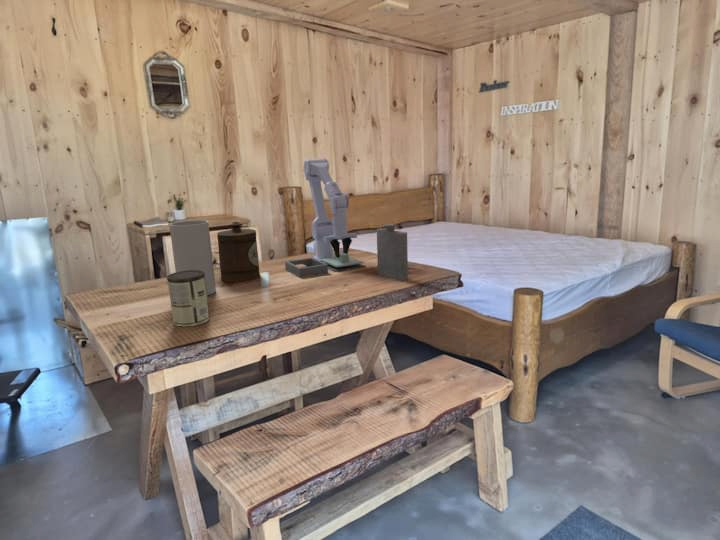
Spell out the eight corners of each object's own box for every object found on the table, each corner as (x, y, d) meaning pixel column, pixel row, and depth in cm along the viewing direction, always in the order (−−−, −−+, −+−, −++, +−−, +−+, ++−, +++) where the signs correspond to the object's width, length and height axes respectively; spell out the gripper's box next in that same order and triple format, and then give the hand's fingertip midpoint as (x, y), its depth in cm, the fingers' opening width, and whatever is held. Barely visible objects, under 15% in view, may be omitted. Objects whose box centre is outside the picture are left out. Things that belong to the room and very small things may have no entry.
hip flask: (409, 279, 177) (408, 225, 172) (401, 281, 175) (400, 227, 170) (382, 272, 190) (381, 221, 185) (374, 274, 187) (372, 222, 183)
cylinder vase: (222, 289, 174) (215, 220, 168) (203, 299, 162) (194, 225, 156) (192, 288, 177) (184, 220, 171) (171, 298, 166) (161, 225, 160)
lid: (320, 261, 207) (320, 252, 206) (345, 258, 213) (345, 248, 212) (336, 268, 193) (336, 258, 192) (363, 264, 199) (362, 254, 198)
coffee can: (179, 315, 146) (173, 270, 143) (213, 314, 147) (208, 269, 143) (167, 327, 136) (161, 279, 133) (204, 326, 137) (198, 278, 133)
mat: (318, 264, 207) (318, 263, 207) (348, 260, 213) (348, 259, 213) (335, 271, 193) (335, 270, 193) (365, 266, 199) (365, 266, 199)
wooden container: (263, 279, 186) (258, 222, 181) (223, 284, 181) (217, 226, 176) (256, 271, 200) (251, 218, 194) (219, 275, 194) (213, 221, 189)
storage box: (285, 269, 200) (285, 261, 199) (312, 265, 205) (311, 257, 204) (300, 277, 186) (299, 268, 185) (328, 273, 192) (327, 264, 191)
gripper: (328, 227, 192) (329, 260, 195) (360, 223, 199) (361, 255, 202) (320, 225, 198) (322, 257, 201) (352, 221, 205) (353, 253, 208)
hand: (341, 256), depth 202 cm, fingers closed on lid, 3 cm apart
